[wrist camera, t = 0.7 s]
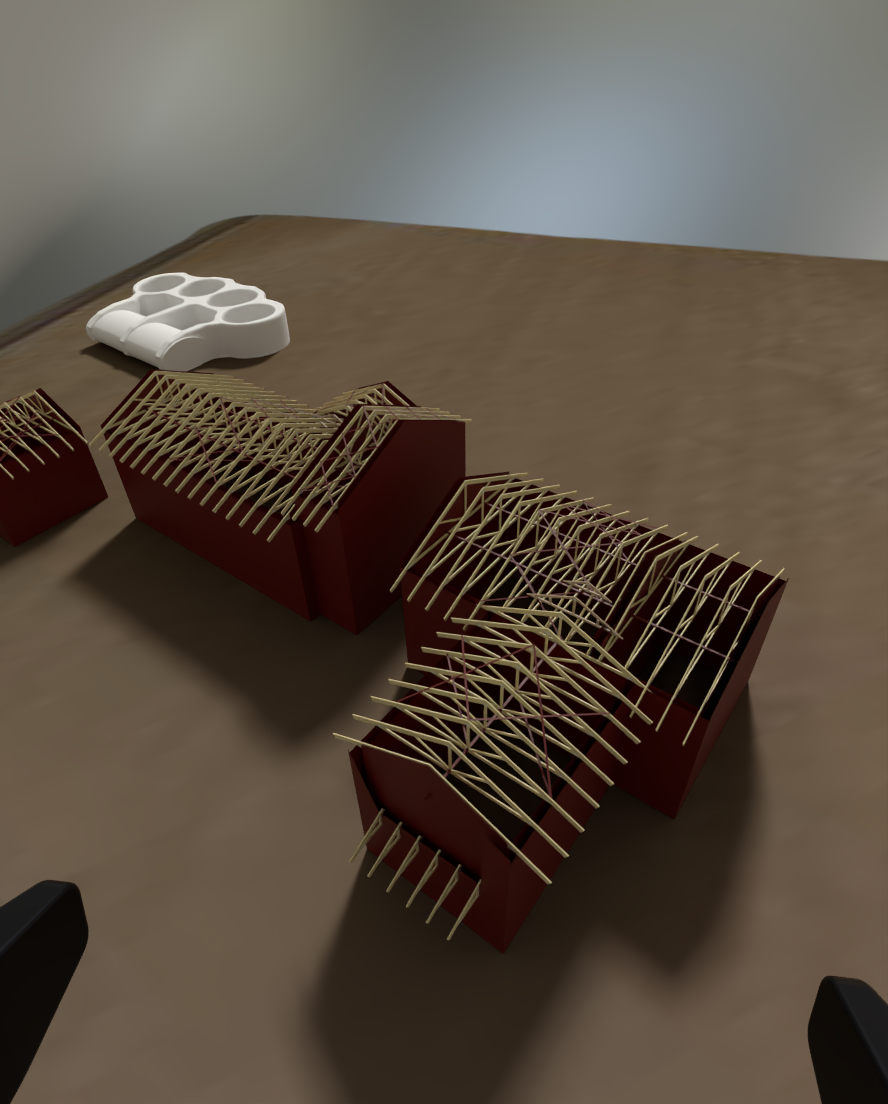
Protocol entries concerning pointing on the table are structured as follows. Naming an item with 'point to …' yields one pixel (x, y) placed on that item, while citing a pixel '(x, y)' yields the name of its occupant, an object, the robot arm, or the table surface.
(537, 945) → the table surface
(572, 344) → the table surface
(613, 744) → the toy houses
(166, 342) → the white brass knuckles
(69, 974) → the robot arm
